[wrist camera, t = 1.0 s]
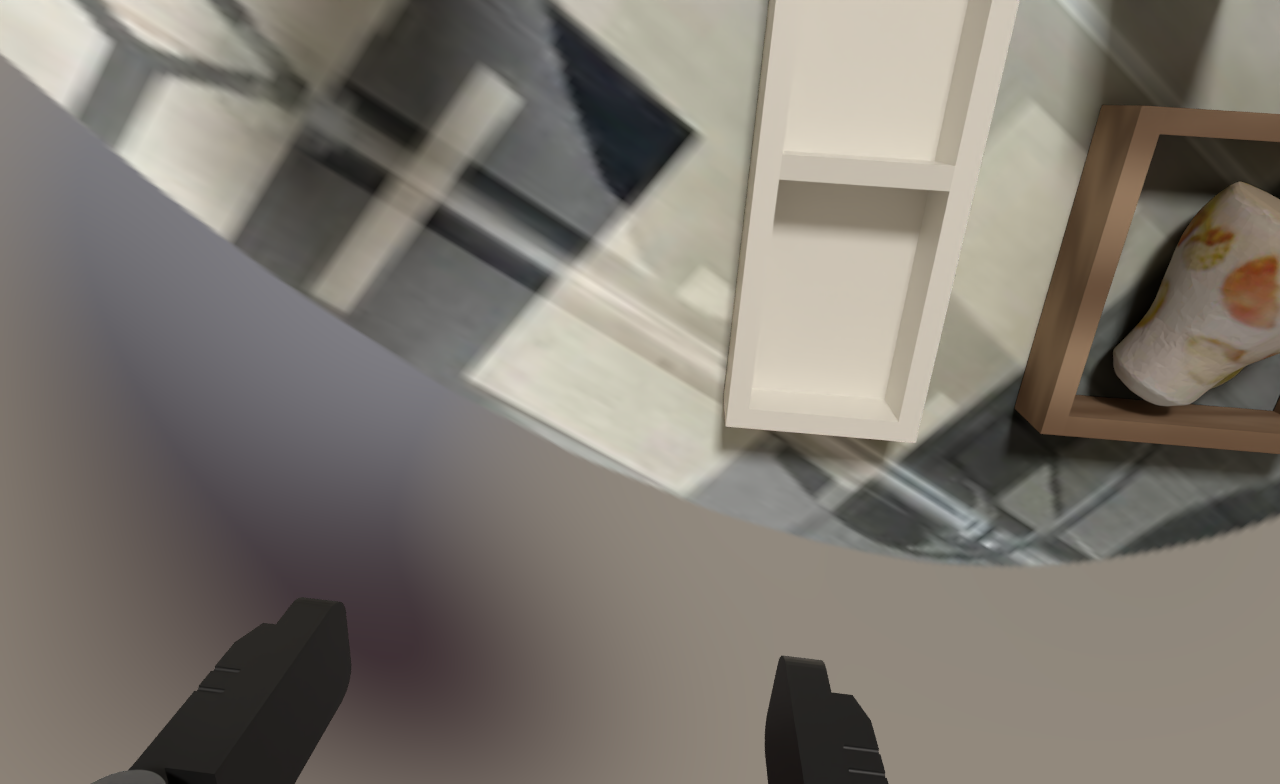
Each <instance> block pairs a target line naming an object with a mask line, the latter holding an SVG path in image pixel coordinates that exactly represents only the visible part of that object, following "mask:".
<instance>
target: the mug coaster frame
mask: <svg viewBox="0 0 1280 784" xmlns="http://www.w3.org/2000/svg"><path fill="white" fill-rule="evenodd" d="M1160 134H1165V135H1180V136H1196V137H1211V138H1226V139H1242V140H1257V141H1272V142H1280V114H1268V113H1252V112H1236V111H1221V110H1205V109H1189V108H1173V107H1158V106H1141V105H1102V107H1101V110H1100V114H1099V117H1098V121H1097V124H1096V128H1095V131H1094V135H1093V138H1092V142H1091V145H1090V148H1089V152H1088V155H1087V159H1086V162H1085V166H1084V169H1083V173H1082V176H1081V180H1080V183H1079V186H1078V190H1077V193H1076V197H1075V200H1074V204H1073V207H1072V211H1071V214H1070V218H1069V221H1068V225H1067V228H1066V231H1065V235H1064V238H1063V242H1062V245H1061V249H1060V252H1059V256H1058V259H1057V263H1056V266H1055V269H1054V273H1053V276H1052V280H1051V283H1050V287H1049V290H1048V294H1047V297H1046V301H1045V304H1044V308H1043V311H1042V314H1041V318H1040V321H1039V325H1038V328H1037V332H1036V335H1035V339H1034V342H1033V346H1032V349H1031V352H1030V356H1029V359H1028V363H1027V366H1026V370H1025V373H1024V377H1023V380H1022V384H1021V387H1020V390H1019V394H1018V397H1017V401H1016V404H1015V409H1016V410H1017V411H1018V412H1019V413H1020V414H1021V415H1022V416H1023V417H1024V418H1025V419H1026V420H1027V421H1028V422H1029V423H1030V424H1031V425H1032V426H1033V427H1034V428H1035V429H1036V430H1037V431H1038V432H1039V433H1040V434H1050V435H1061V436H1073V437H1085V438H1097V439H1109V440H1120V441H1132V442H1144V443H1156V444H1167V445H1179V446H1191V447H1203V448H1215V449H1226V450H1238V451H1250V452H1262V453H1274V454H1280V398H1279V400H1278V402H1277V404H1276V407H1275V409H1274V411H1266V410H1254V409H1242V408H1230V407H1218V406H1206V405H1193V404H1188V405H1179V406H1159V405H1155V404H1153V403H1150V402H1148V401H1145V400H1133V399H1120V398H1108V397H1096V396H1084V395H1076V392H1077V388H1078V385H1079V382H1080V379H1081V376H1082V373H1083V370H1084V367H1085V364H1086V361H1087V357H1088V354H1089V351H1090V348H1091V345H1092V342H1093V339H1094V336H1095V333H1096V330H1097V327H1098V323H1099V320H1100V317H1101V314H1102V311H1103V308H1104V305H1105V302H1106V299H1107V296H1108V292H1109V289H1110V286H1111V283H1112V280H1113V277H1114V274H1115V271H1116V268H1117V265H1118V262H1119V258H1120V255H1121V252H1122V249H1123V246H1124V243H1125V240H1126V237H1127V234H1128V231H1129V227H1130V224H1131V221H1132V218H1133V215H1134V212H1135V209H1136V206H1137V203H1138V200H1139V197H1140V193H1141V190H1142V187H1143V184H1144V181H1145V178H1146V175H1147V172H1148V169H1149V166H1150V162H1151V159H1152V156H1153V153H1154V150H1155V147H1156V144H1157V141H1158V138H1159V135H1160Z"/></svg>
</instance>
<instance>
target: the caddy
mask: <svg viewBox="0 0 1280 784" xmlns="http://www.w3.org/2000/svg"><path fill="white" fill-rule="evenodd" d="M1019 1H1020V0H769V3H768V12H767V21H766V29H765V38H764V47H763V55H762V64H761V73H760V82H759V90H758V99H757V108H756V116H755V125H754V134H753V143H752V151H751V160H750V169H749V177H748V186H747V195H746V204H745V212H744V221H743V230H742V239H741V247H740V256H739V265H738V273H737V282H736V291H735V300H734V308H733V317H732V326H731V334H730V343H729V352H728V361H727V369H726V378H725V387H724V395H723V402H724V413H725V425H726V427H737V428H749V429H760V430H772V431H784V432H795V433H807V434H818V435H830V436H842V437H853V438H865V439H877V440H888V441H900V442H911V443H916V439H917V435H918V431H919V427H920V422H921V418H922V414H923V410H924V405H925V401H926V397H927V393H928V388H929V384H930V380H931V376H932V371H933V367H934V363H935V359H936V354H937V350H938V346H939V342H940V337H941V333H942V329H943V325H944V320H945V316H946V312H947V308H948V303H949V299H950V295H951V291H952V286H953V282H954V278H955V274H956V269H957V265H958V261H959V257H960V252H961V248H962V244H963V240H964V235H965V231H966V227H967V223H968V218H969V214H970V210H971V206H972V201H973V197H974V193H975V189H976V184H977V180H978V176H979V171H980V167H981V163H982V159H983V154H984V150H985V146H986V142H987V137H988V133H989V129H990V125H991V120H992V116H993V112H994V108H995V103H996V99H997V95H998V91H999V86H1000V82H1001V78H1002V74H1003V69H1004V65H1005V61H1006V57H1007V52H1008V48H1009V44H1010V40H1011V35H1012V31H1013V27H1014V23H1015V18H1016V14H1017V10H1018V6H1019Z"/></svg>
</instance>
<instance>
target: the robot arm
mask: <svg viewBox="0 0 1280 784" xmlns="http://www.w3.org/2000/svg"><path fill="white" fill-rule="evenodd" d="M350 674H351V658H350V648H349V639H348V629H347V620H346V610H345V607H344V605H343V603H342V602H337V601H328V600H319V599H311V598H303V597H302V598H298V599H297V600H295V601H294V602H293V603H292V605H291V606H290V607H289V608H288V610H287V611H286V612H285V614H284V615H283V616H282V617H281V619H280V620H279V621H278V622H277V624H276V625H275V624H267V623H263V624H261V625H260V626H258V627H257V628H255V629H254V630H252V631H251V632H249V633H248V634H246V635H245V636H243V637H242V638H240V639H239V640H238V641H236V642H235V643H234V644H233V645H232V646H231V648H230V649H229V650H228V651H227V652H226V654H225V655H224V656H223V657H222V658H221V660H220V661H219V662H218V663H217V665H216V666H215V669H214V671H211V672H210V673H209V674H208V675H207V677H206V678H205V679H204V680H203V681H202V683H201V684H200V685H199V688H198V690H197V691H194V692H193V693H192V695H191V696H190V697H189V698H188V699H187V701H186V702H185V703H184V704H183V705H182V707H181V708H180V709H179V710H178V711H177V713H176V714H175V715H174V716H173V717H172V719H171V720H170V721H169V722H168V724H167V725H166V726H165V727H164V729H163V730H162V731H161V732H160V733H159V734H158V736H157V737H156V738H155V739H154V741H153V742H152V743H151V744H150V745H149V746H148V748H147V749H146V750H145V751H144V752H143V754H142V755H141V756H140V757H139V759H138V760H137V761H136V762H135V763H134V764H133V766H132V767H131V768H130V769H129V770H128V771H123V772H118V773H115V774H111V775H109V776H106V777H104V778H101V779H99V780H97V781H95V782H93V783H92V784H295V782H296V780H297V778H298V777H299V775H300V773H301V771H302V770H303V768H304V766H305V764H306V763H307V761H308V759H309V757H310V756H311V754H312V752H313V751H314V749H315V747H316V745H317V743H318V742H319V740H320V738H321V737H322V735H323V733H324V732H325V730H326V728H327V726H328V724H329V723H330V721H331V719H332V718H333V716H334V714H335V712H336V711H337V709H338V707H339V705H340V704H341V702H342V700H343V698H344V696H345V693H346V691H347V687H348V684H349V680H350ZM878 750H879V748H878V745H877V741H876V737H875V734H874V730H873V727H872V723H871V720H870V719H869V718H868V716H867V715H866V713H865V712H864V711H863V709H862V708H861V706H860V705H859V704H858V702H857V701H856V699H855V698H854V697H853V695H847V694H839V693H831V689H830V684H829V680H828V675H827V671H826V667H825V664H824V662H823V661H822V660H814V659H806V658H797V657H789V656H781V657H780V659H779V662H778V666H777V670H776V675H775V680H774V685H773V689H772V694H771V699H770V703H769V708H768V713H767V718H766V726H765V757H766V767H767V776H768V784H888V781H887V778H885V770H884V766H883V763H882V759H881V755H880V754H879V752H878Z"/></svg>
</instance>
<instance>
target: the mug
mask: <svg viewBox="0 0 1280 784" xmlns="http://www.w3.org/2000/svg"><path fill="white" fill-rule="evenodd" d="M1279 353H1280V199H1278V198H1276V197H1274V196H1273V195H1271V194H1269V193H1267V192H1265V191H1263V190H1261V189H1259V188H1256V187H1254V186H1252V185H1250V184H1248V183H1245V182H1241V181H1239V182H1237V183H1234V184H1232V185H1230V186H1228V187H1227V188H1226V189H1224V190H1223V191H1221V192H1220V193H1218V194H1217V195H1216V196H1215V197H1214V198H1212V199H1211V200H1210V201H1209V202H1208V203H1207V204H1206V205H1205V206H1204V207H1202V209H1201V210H1200V211H1199V212H1198V213H1197V214H1196V216H1195V217H1194V218H1193V219H1192V221H1191V222H1190V224H1189V225H1188V227H1187V228H1186V230H1185V231H1184V233H1183V235H1182V236H1181V238H1180V241H1179V243H1178V245H1177V247H1176V249H1175V251H1174V254H1173V256H1172V259H1171V261H1170V264H1169V266H1168V268H1167V271H1166V273H1165V276H1164V278H1163V280H1162V283H1161V285H1160V288H1159V291H1158V293H1157V296H1156V298H1155V300H1154V302H1153V304H1152V306H1151V307H1150V309H1149V310H1148V312H1147V313H1146V315H1145V316H1144V317H1143V319H1142V320H1141V321H1140V322H1139V323H1138V324H1137V326H1136V327H1135V328H1134V329H1133V330H1132V331H1131V332H1130V333H1129V334H1128V335H1127V336H1126V337H1125V338H1124V339H1123V340H1122V341H1121V342H1120V343H1119V344H1118V345H1117V346H1116V347H1115V348H1114V351H1113V366H1114V370H1115V373H1116V375H1117V376H1118V378H1119V379H1120V380H1121V381H1122V382H1123V383H1124V384H1125V385H1126V386H1127V387H1128V388H1129V389H1130V390H1131V391H1132V392H1134V393H1135V394H1136V395H1138V396H1140V397H1141V398H1143V399H1144V400H1146V401H1148V402H1150V403H1153V404H1155V405H1159V406H1179V405H1188V404H1191V403H1193V402H1194V401H1196V400H1197V399H1198V398H1199V397H1200V396H1202V395H1203V394H1204V393H1205V392H1207V391H1208V390H1209V389H1212V388H1215V387H1217V386H1220V385H1222V384H1223V383H1225V382H1227V381H1229V380H1230V379H1232V378H1233V377H1235V376H1236V375H1237V374H1238V373H1239V372H1240V371H1241V370H1242V369H1243V368H1244V367H1245V366H1247V365H1249V364H1252V363H1254V362H1257V361H1260V360H1262V359H1265V358H1268V357H1271V356H1273V355H1276V354H1279Z"/></svg>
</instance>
